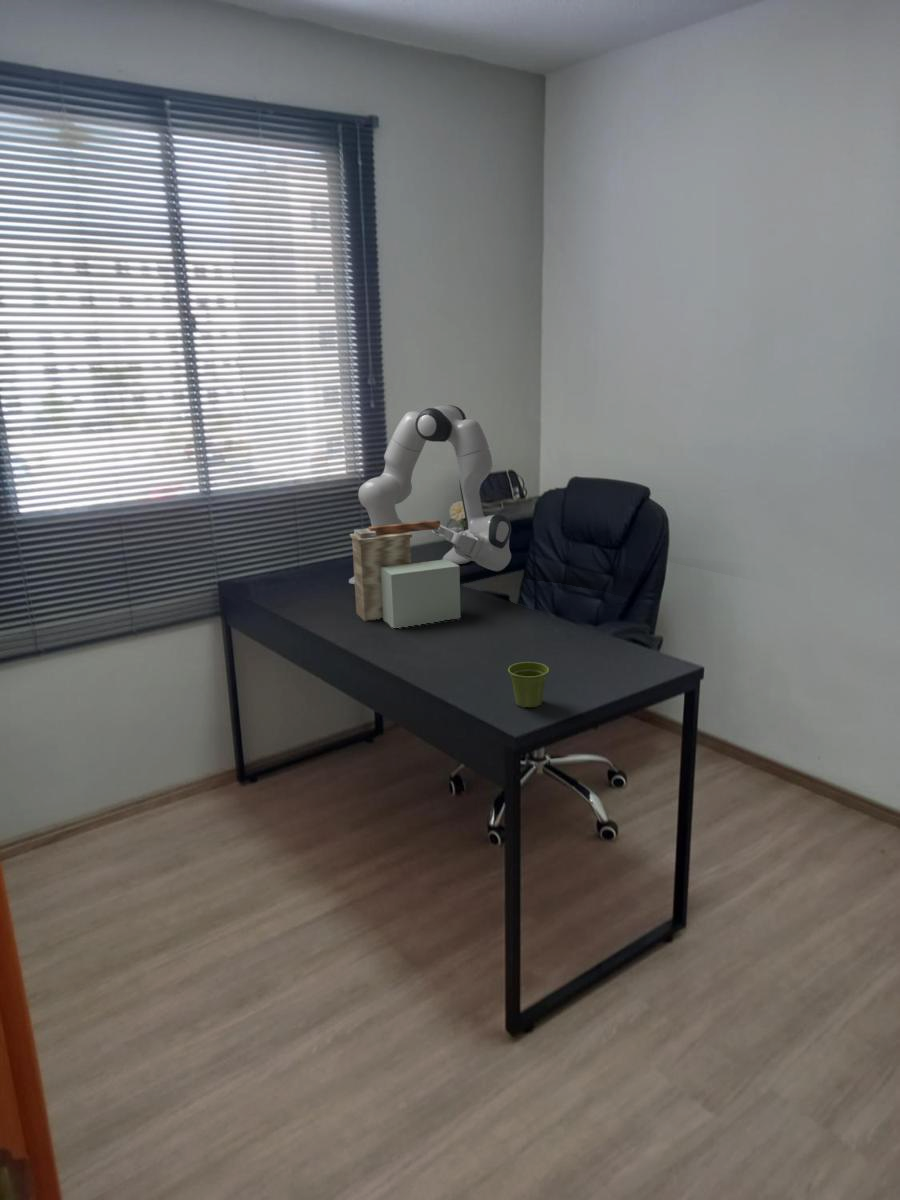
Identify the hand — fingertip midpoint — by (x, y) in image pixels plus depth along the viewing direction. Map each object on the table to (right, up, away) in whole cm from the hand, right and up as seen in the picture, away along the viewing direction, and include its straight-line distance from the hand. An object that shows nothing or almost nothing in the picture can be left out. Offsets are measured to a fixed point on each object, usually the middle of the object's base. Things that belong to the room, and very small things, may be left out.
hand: (432, 526), depth 265 cm
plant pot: (+24, -48, -69) cm, 87 cm away
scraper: (-10, -2, -4) cm, 11 cm away
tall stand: (-15, -28, +1) cm, 32 cm away
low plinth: (-3, -29, -5) cm, 30 cm away
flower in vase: (+9, -9, +63) cm, 64 cm away
